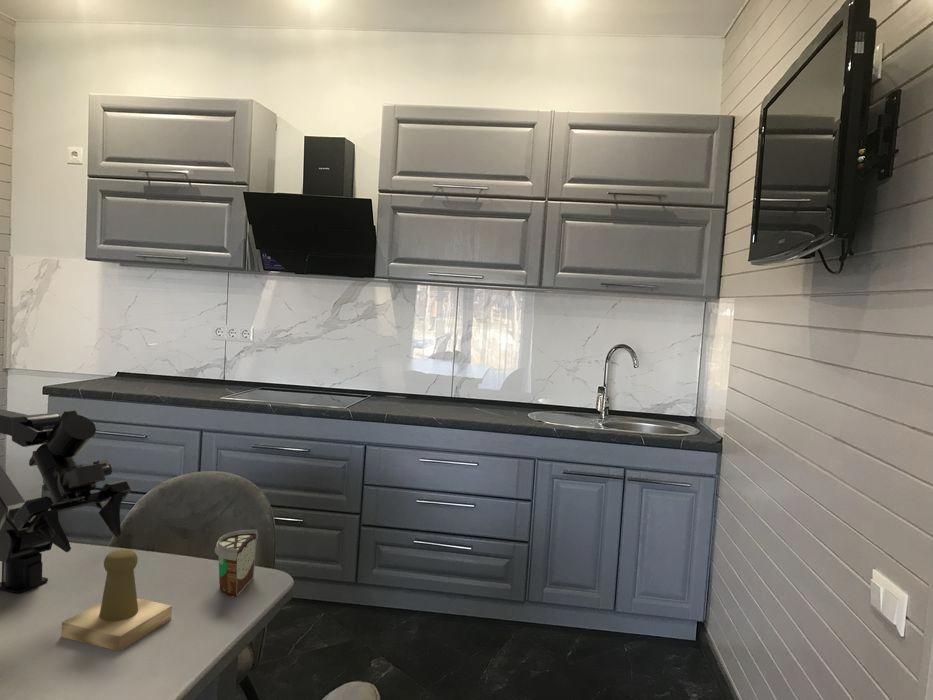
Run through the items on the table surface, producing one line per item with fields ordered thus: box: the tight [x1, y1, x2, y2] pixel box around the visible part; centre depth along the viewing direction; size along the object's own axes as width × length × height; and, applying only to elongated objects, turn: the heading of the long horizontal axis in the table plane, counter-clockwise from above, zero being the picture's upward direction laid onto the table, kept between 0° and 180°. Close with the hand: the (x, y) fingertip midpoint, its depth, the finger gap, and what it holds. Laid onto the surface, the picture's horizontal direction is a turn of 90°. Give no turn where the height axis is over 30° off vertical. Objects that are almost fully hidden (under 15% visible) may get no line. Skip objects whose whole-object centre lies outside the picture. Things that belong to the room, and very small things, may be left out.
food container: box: [214, 529, 259, 598], centre depth 133 cm, size 12×6×10 cm, turn 178°
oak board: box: [60, 597, 173, 652], centre depth 114 cm, size 12×12×2 cm
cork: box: [99, 548, 139, 621], centre depth 114 cm, size 6×6×11 cm
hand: (94, 543), depth 117 cm, fingers open, 9 cm apart
